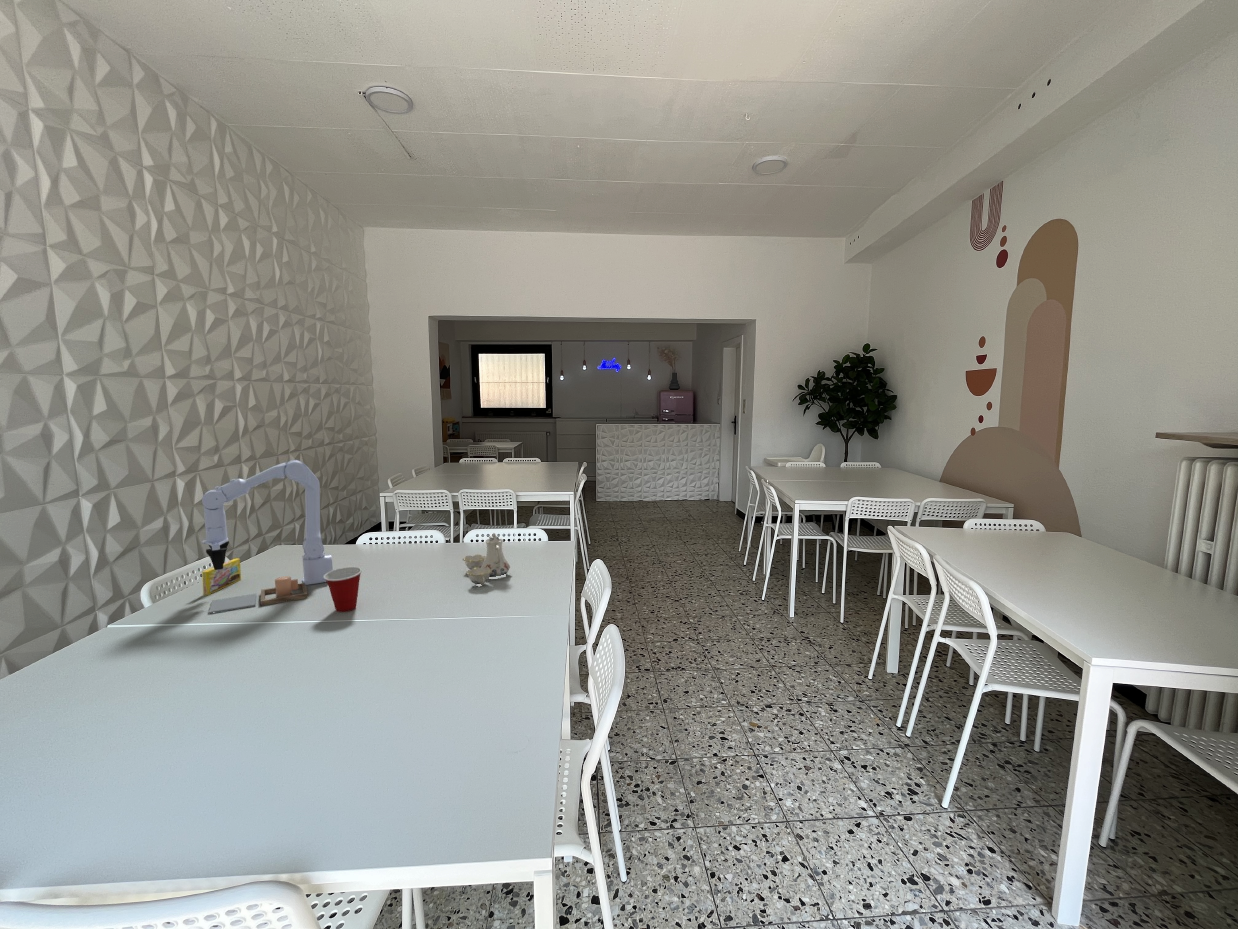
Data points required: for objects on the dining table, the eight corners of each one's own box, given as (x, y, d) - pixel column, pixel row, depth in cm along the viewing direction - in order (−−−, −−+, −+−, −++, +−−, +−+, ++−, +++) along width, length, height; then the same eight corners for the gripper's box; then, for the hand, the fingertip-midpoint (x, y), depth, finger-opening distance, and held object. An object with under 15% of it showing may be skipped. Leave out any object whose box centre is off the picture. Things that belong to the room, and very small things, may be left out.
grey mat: (256, 595, 189) (256, 593, 189) (255, 606, 179) (255, 604, 178) (212, 602, 182) (212, 600, 182) (208, 614, 172) (208, 612, 172)
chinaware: (459, 573, 216) (452, 531, 214) (502, 563, 223) (496, 523, 220) (472, 596, 191) (465, 549, 188) (520, 584, 198) (514, 539, 195)
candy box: (209, 595, 189) (206, 571, 188) (202, 595, 189) (200, 571, 188) (242, 580, 205) (240, 558, 204) (236, 580, 205) (234, 558, 204)
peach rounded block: (276, 599, 185) (274, 581, 184) (276, 595, 188) (274, 578, 188) (299, 595, 188) (297, 578, 187) (298, 591, 192) (297, 574, 191)
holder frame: (305, 586, 197) (305, 582, 196) (307, 598, 186) (307, 593, 185) (261, 593, 190) (261, 589, 190) (261, 605, 179) (260, 601, 179)
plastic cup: (318, 611, 174) (315, 574, 172) (349, 600, 183) (346, 564, 182) (341, 618, 169) (338, 579, 167) (371, 606, 178) (369, 569, 177)
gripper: (203, 523, 190) (207, 563, 191) (198, 532, 177) (202, 574, 179) (228, 521, 193) (232, 559, 195) (225, 529, 181) (229, 570, 183)
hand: (219, 566), depth 187 cm, fingers open, 7 cm apart
